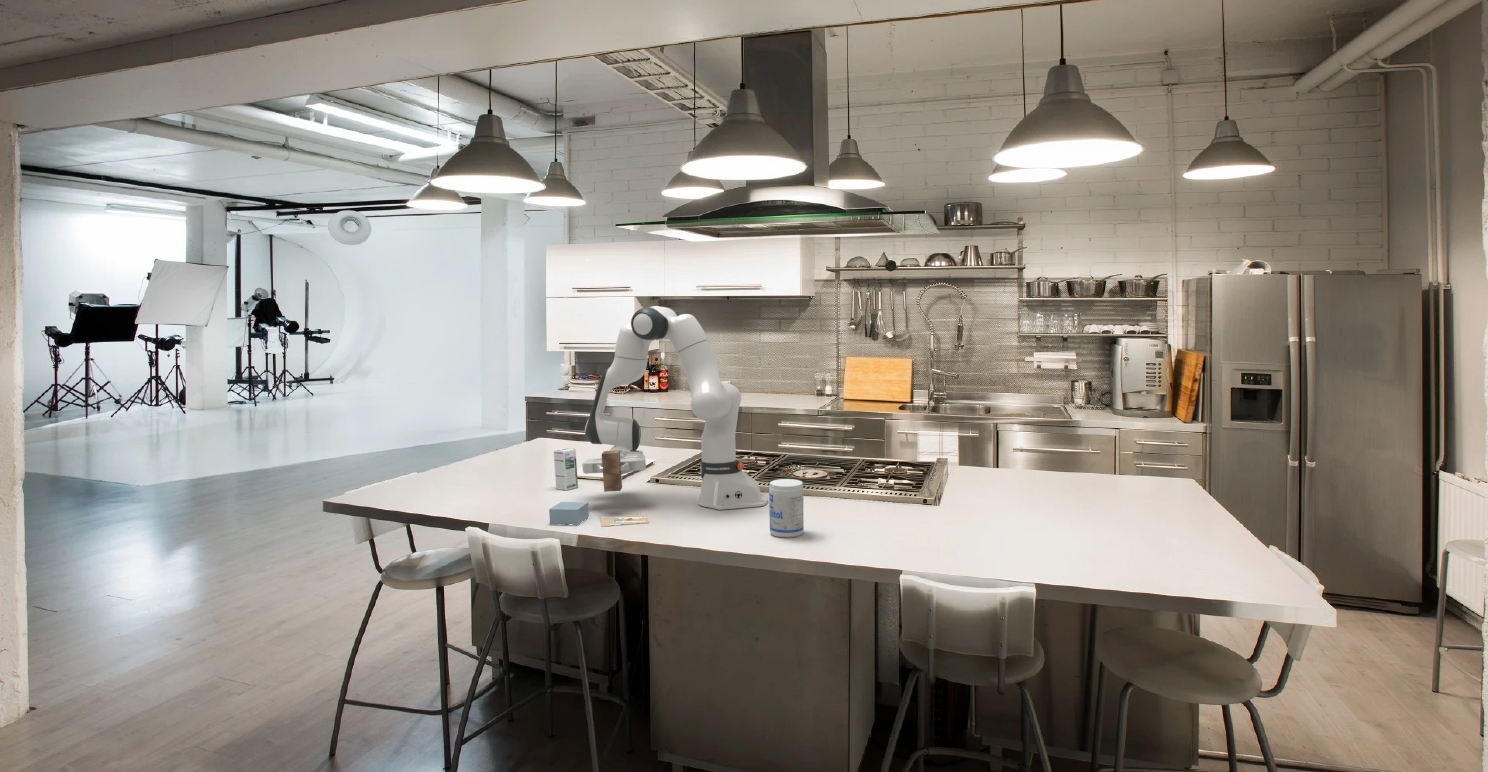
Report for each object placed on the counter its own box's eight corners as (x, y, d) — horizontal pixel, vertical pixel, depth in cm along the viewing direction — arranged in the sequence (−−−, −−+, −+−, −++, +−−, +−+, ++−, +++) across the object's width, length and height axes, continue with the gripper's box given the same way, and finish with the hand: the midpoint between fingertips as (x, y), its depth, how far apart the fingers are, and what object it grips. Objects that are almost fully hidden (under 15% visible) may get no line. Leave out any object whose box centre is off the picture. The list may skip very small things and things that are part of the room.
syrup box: (566, 490, 286) (564, 450, 284) (555, 488, 289) (553, 449, 288) (578, 487, 290) (576, 448, 289) (567, 485, 294) (565, 447, 292)
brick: (589, 518, 248) (588, 502, 247) (578, 526, 239) (577, 509, 239) (561, 517, 249) (560, 501, 249) (549, 525, 241) (549, 509, 240)
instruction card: (646, 514, 249) (646, 513, 249) (648, 522, 239) (648, 522, 239) (600, 518, 246) (600, 517, 246) (601, 526, 236) (601, 525, 236)
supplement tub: (762, 534, 223) (761, 483, 222) (783, 527, 230) (782, 477, 229) (790, 540, 217) (789, 487, 216) (811, 532, 224) (809, 481, 223)
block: (622, 487, 254) (619, 450, 253) (620, 490, 249) (617, 453, 248) (606, 488, 254) (604, 451, 253) (604, 491, 249) (601, 453, 248)
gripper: (585, 453, 263) (577, 461, 250) (647, 450, 264) (642, 457, 250) (586, 472, 264) (579, 481, 250) (648, 469, 264) (644, 477, 251)
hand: (611, 469), depth 250 cm, fingers closed on block, 5 cm apart
